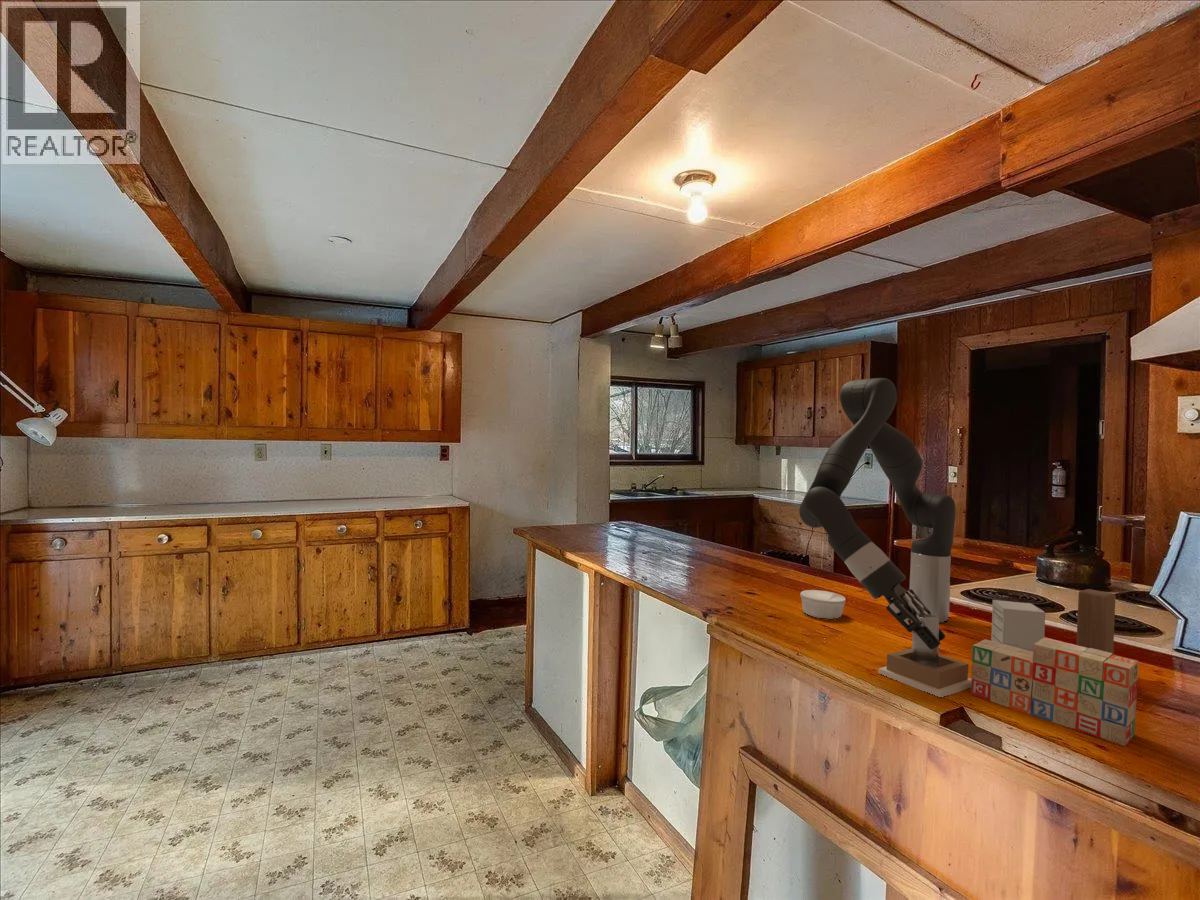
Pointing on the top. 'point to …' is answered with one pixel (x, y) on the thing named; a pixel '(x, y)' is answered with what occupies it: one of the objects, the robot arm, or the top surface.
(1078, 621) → the wooden block
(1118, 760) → the top surface
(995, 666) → the stack of blocks
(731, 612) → the top surface
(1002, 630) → the supplement box
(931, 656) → the axle
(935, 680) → the cradle
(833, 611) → the ramekin
